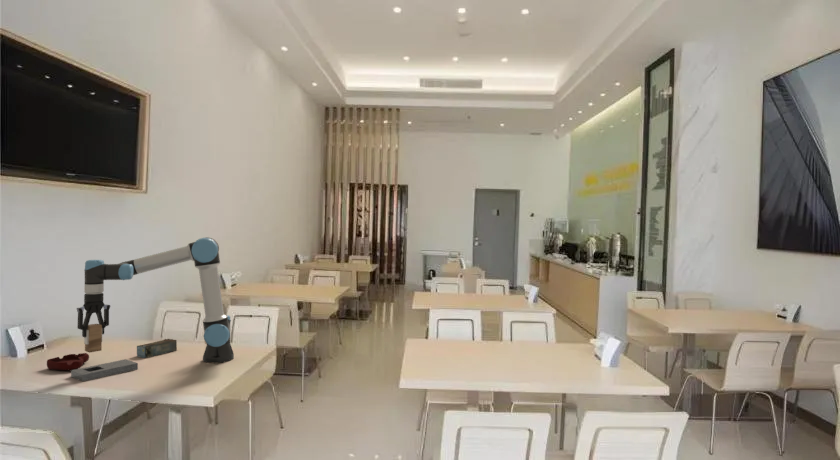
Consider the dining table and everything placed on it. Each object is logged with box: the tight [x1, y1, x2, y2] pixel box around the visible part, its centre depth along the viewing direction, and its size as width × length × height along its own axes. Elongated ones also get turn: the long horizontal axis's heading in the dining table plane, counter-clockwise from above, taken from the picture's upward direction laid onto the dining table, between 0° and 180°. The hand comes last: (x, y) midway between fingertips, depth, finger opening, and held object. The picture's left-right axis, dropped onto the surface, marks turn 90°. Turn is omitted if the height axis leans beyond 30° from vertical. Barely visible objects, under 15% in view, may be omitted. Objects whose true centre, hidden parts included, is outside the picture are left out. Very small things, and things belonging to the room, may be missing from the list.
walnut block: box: [84, 323, 103, 353], centre depth 234 cm, size 5×5×12 cm
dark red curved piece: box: [46, 352, 90, 371], centre depth 246 cm, size 18×16×5 cm
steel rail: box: [70, 358, 139, 382], centre depth 238 cm, size 12×24×3 cm, turn 146°
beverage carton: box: [136, 338, 178, 359], centre depth 275 cm, size 8×19×7 cm, turn 151°
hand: (93, 342), depth 234 cm, fingers closed on walnut block, 5 cm apart
